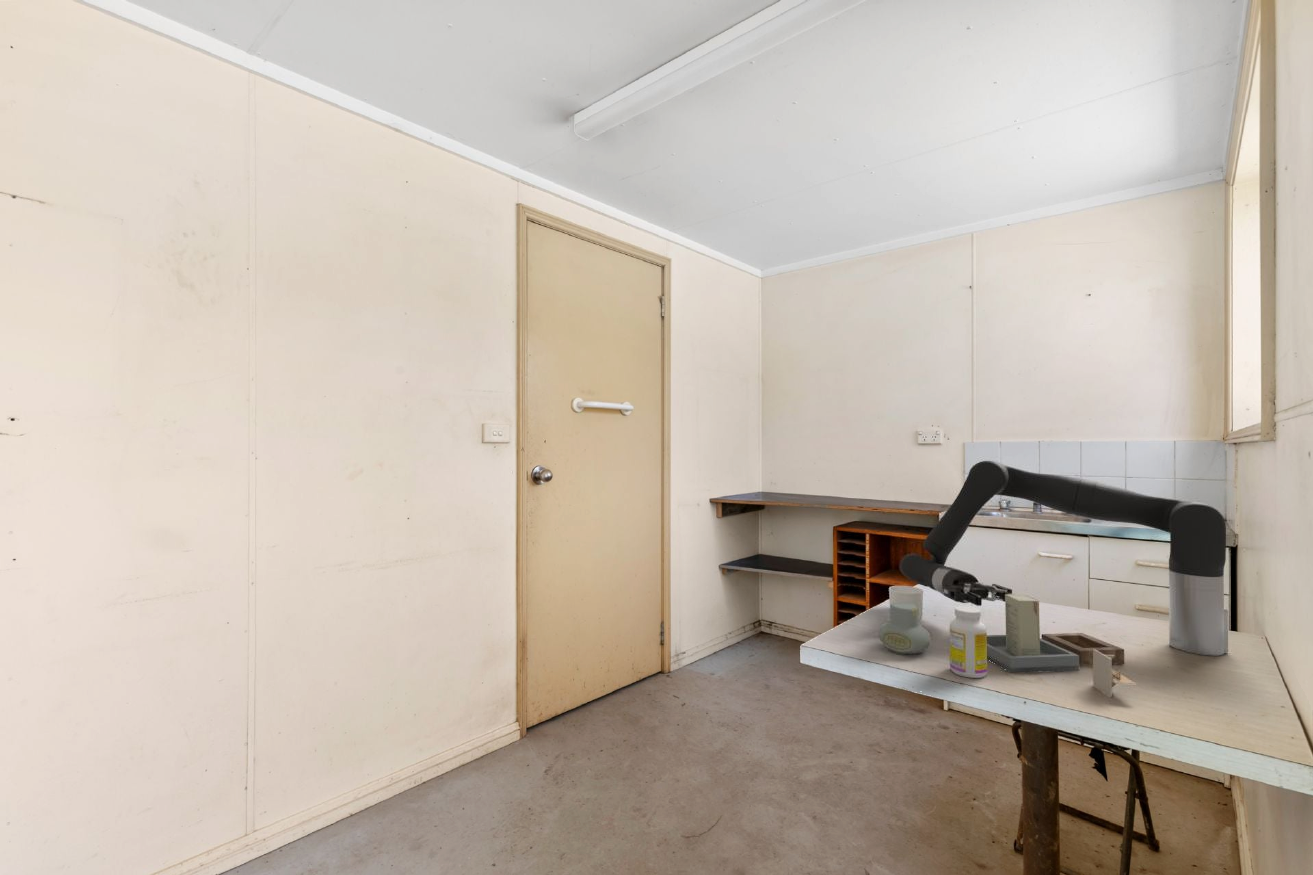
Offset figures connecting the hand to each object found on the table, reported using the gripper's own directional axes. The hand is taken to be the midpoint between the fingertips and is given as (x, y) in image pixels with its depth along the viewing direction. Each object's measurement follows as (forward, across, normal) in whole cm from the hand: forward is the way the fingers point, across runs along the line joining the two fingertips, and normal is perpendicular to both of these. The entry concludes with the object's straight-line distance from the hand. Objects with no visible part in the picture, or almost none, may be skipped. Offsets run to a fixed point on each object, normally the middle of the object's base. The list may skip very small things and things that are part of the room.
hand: (997, 601), depth 136 cm
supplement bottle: (+13, -16, +11) cm, 23 cm away
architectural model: (+24, +4, +11) cm, 27 cm away
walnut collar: (+6, +15, +11) cm, 19 cm away
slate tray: (+7, 0, +11) cm, 13 cm away
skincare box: (+7, +1, +10) cm, 12 cm away
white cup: (-15, -14, +11) cm, 23 cm away
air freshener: (-1, -22, +11) cm, 24 cm away
